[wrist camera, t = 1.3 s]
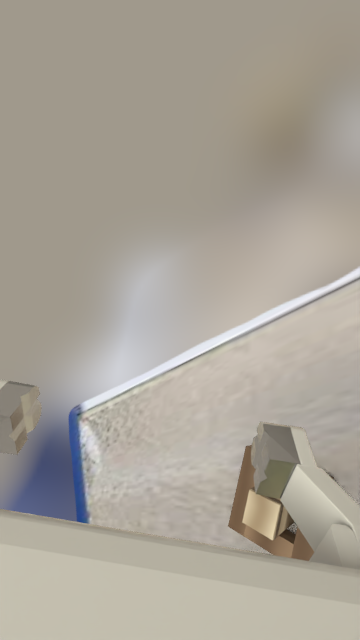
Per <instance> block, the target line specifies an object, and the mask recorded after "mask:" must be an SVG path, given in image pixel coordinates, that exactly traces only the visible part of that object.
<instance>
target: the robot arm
mask: <svg viewBox="0 0 360 640" xmlns="http://www.w3.org/2000/svg"><path fill="white" fill-rule="evenodd" d="M39 395H40V392H39V387H37V386H34V385H29V384H23V383H18V382H12V381H5V380H0V452H1V453H8V454H16V455H17V454H18V453H19V451H20V450H21V448H22V446H23V445H24V444H25V442H26V441H27V433H28V432H30V431H32V430H33V429H34V428H35V427H36V425H37V423H38V421H39V418H40V416H41V403H40V402H39V401H38V399H37V398H38V396H39ZM257 433H258V435H257V436H256V437H254V439H253V443H252V448H251V462H252V465H253V467H254V468H255V469H256V470H255V473H254V476H253V478H254V485H255V493H256V494H258V495H263V496H268V497H273V498H278V499H280V501H281V502H282V504H283V505H284V507H285V508H286V510H287V511H288V513H289V514H290V516H291V517H292V519H293V520H294V522H295V523H296V525H297V526H298V528H299V529H300V531H301V532H302V534H303V535H304V537H305V538H306V540H307V541H308V543H309V545H310V546H311V548H312V549H313V551H314V554H313V555H312V557H311V558H310V560H309V561H305V560H299V559H293V558H288V557H282V556H276V555H270V554H264V553H258V552H252V551H246V550H240V549H234V548H228V547H222V546H216V545H211V544H205V543H199V542H193V541H187V540H181V539H175V538H169V537H163V536H157V535H151V534H145V533H139V532H133V531H127V530H121V529H115V528H110V527H104V526H98V525H92V524H86V523H80V522H74V521H67V520H62V519H56V518H50V517H44V516H39V515H33V514H27V513H21V512H15V511H9V510H3V509H0V640H360V506H359V505H358V504H357V503H356V502H355V501H354V500H353V499H352V498H351V497H350V496H349V495H348V494H347V493H346V492H345V491H344V490H343V489H342V488H341V487H340V486H339V485H338V484H337V483H336V482H335V481H334V480H333V479H332V478H331V477H330V476H329V475H328V474H327V473H326V472H325V471H324V470H323V469H322V468H318V467H317V464H316V462H315V459H314V456H313V453H312V450H311V447H310V444H309V441H308V438H307V435H306V432H305V430H304V429H303V428H301V427H294V426H287V425H280V424H274V423H267V422H260V423H259V425H258V427H257Z"/></svg>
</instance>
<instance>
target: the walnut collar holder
mask: <svg viewBox="0 0 360 640" xmlns="http://www.w3.org/2000/svg"><path fill="white" fill-rule="evenodd" d="M251 448H252V445H250V446H246V449H245V453H244V458H243V462H242V467H241V471H240V476H239V480H238V484H237V489H236V493H235V498H234V502H233V507H232V511H231V516H230V520H229V525H228V527H230V528H232V529H233V530H235V531H236V532H238V533H240V534H241V535H243V536H244V537H246V538H248V539H249V540H251V541H252V542H254V543H256V544H257V545H259V546H260V547H262V548H263V549H265V550H267V551H268V552H270V553H271V554H273V555H276V556H282V557H288V558H293V559H299V560H305V561H309V560H310V558H311V557H312V555H313V554H314V551H313V549H312V548H311V546H310V545H309V543H308V541H307V540H306V538H305V537H304V535H303V534H302V532H301V531H300V529H299V528H298V526H297V531H296V534H294V533H292V532H290V531H288V530H287V529H286V530H284V531H283V532H282V533H281V534H280V535H278V536H277V538H276V539H275V540H271V539H269V538H268V537H266V536H264V535H263V534H261V533H259V532H258V531H256V530H254V529H253V528H251V527H249V526H248V525H246V524H244V523H243V522H242V521H243V516H244V512H245V507H246V503H247V498H248V494H249V490H250V489H251V488H253V487H255V485H254V478H253V476H254V473H255V470H256V469H255V468H254V467H253V465H252V462H251ZM330 477H331V476H330ZM331 478H332V479H333V480H334V477H331Z"/></svg>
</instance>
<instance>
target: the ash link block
mask: <svg viewBox="0 0 360 640" xmlns="http://www.w3.org/2000/svg"><path fill="white" fill-rule="evenodd" d="M242 522H243V523H244V524H246V525H248V526H249V527H251V528H253V529H254V530H256V531H258V532H259V533H261V534H263V535H264V536H266V537H268V538H269V539H271V540H275V539H276V538H277V536H278V535H280V534H281V533H282V532H283V531H284V530H286V529H287V528H288V527H289V526H290V525H291V524H293V523H294V520H293V519H292V517H291V516H290V514H289V513H288V511H287V510H286V508H285V507H284V505H283V504H282V502H281V501H280V499H278V498H273V497H268V496H263V495H258V494H256V493H255V487H253V488H251V489H250V490H249V494H248V498H247V503H246V507H245V512H244V516H243V521H242Z"/></svg>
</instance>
